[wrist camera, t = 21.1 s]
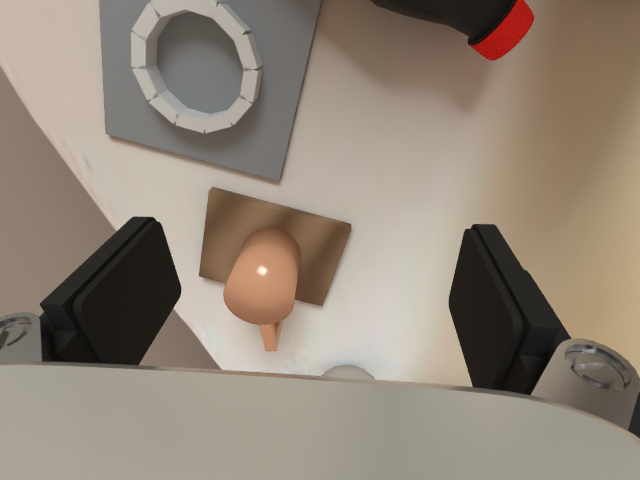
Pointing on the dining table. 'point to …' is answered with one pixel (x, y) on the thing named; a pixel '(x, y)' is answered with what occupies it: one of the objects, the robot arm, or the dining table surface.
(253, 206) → the walnut board
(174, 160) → the dining table surface
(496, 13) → the cola bottle
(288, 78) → the squash holder
